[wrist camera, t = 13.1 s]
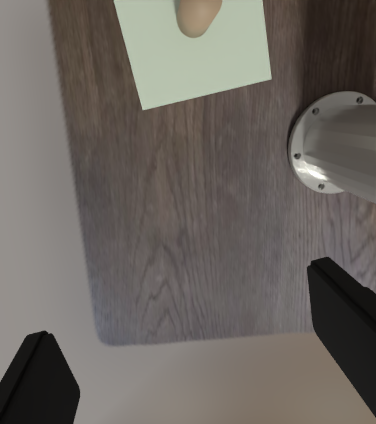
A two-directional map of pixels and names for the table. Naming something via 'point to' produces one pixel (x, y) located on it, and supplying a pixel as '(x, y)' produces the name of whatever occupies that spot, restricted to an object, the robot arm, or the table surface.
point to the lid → (193, 47)
